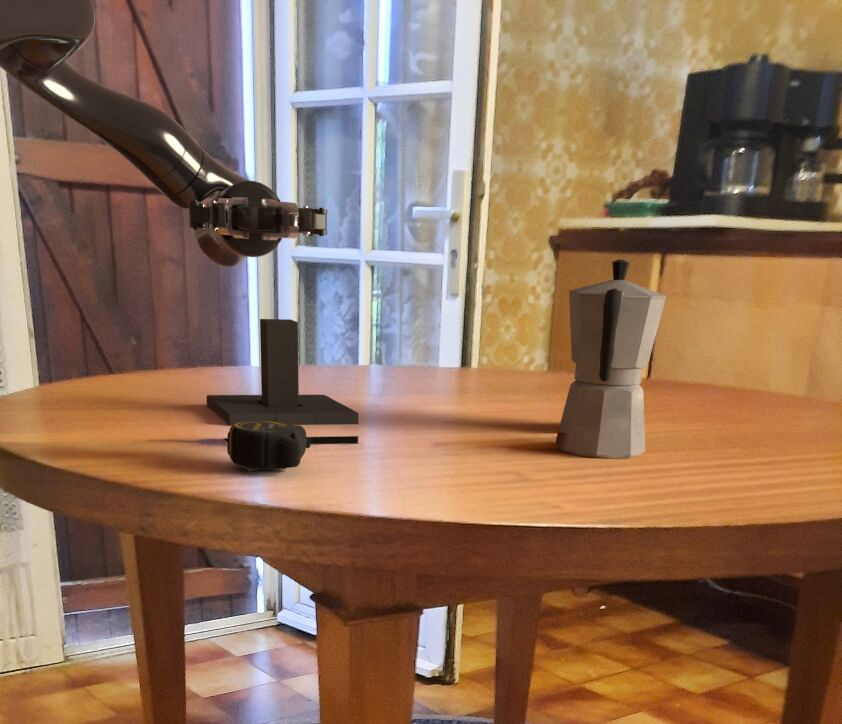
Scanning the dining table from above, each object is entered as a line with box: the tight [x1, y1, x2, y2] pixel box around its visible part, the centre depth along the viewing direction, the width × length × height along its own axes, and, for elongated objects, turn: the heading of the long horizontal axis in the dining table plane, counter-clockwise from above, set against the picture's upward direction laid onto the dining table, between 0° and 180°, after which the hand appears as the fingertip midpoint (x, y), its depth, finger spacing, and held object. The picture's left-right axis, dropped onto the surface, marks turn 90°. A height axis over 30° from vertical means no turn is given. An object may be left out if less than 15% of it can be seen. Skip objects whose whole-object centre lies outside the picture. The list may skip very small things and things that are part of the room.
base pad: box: [206, 394, 360, 445], centre depth 111 cm, size 13×13×3 cm
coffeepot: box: [554, 258, 667, 459], centre depth 106 cm, size 15×9×18 cm, turn 167°
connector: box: [259, 318, 300, 407], centre depth 109 cm, size 3×3×11 cm
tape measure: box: [226, 421, 312, 472], centre depth 94 cm, size 7×7×4 cm
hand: (265, 217), depth 106 cm, fingers open, 8 cm apart
